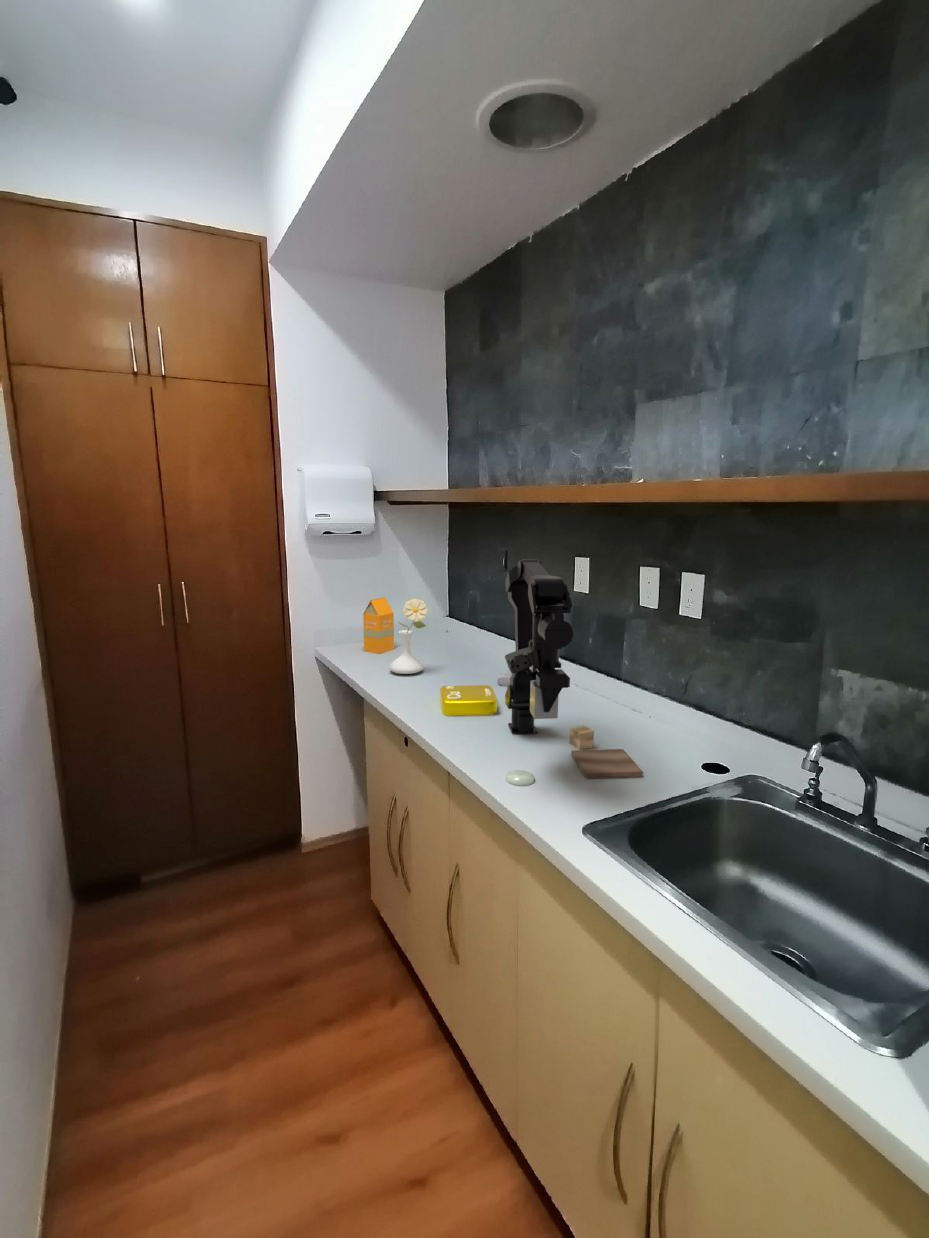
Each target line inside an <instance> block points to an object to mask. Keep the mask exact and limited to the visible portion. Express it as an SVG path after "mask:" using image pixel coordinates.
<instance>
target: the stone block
mask: <svg viewBox="0 0 929 1238" xmlns="http://www.w3.org/2000/svg"><path fill="white" fill-rule="evenodd" d="M511 675H512V673H511V671H510V670H509V669H508V671H507V672H505V673H499V674H498V677H497V684H498V685H499V686H500V687H501V686H502V687H504V688H505V687H506V688H508V685H510V677H511Z"/></svg>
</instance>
